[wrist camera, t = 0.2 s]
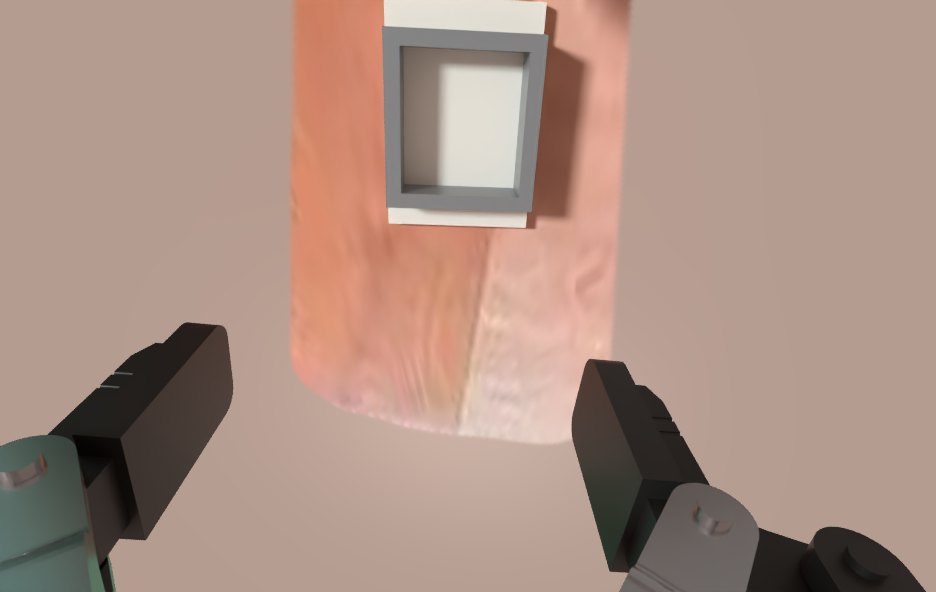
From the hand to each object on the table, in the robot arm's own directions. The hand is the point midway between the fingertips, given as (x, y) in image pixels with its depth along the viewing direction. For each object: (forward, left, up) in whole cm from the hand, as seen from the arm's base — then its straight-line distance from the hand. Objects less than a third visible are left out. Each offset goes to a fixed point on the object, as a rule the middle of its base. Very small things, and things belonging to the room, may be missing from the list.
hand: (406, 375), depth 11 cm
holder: (-3, +2, -29) cm, 29 cm away
